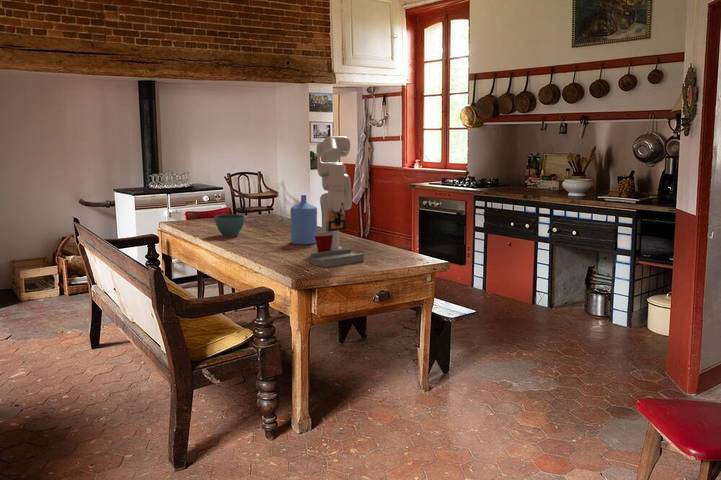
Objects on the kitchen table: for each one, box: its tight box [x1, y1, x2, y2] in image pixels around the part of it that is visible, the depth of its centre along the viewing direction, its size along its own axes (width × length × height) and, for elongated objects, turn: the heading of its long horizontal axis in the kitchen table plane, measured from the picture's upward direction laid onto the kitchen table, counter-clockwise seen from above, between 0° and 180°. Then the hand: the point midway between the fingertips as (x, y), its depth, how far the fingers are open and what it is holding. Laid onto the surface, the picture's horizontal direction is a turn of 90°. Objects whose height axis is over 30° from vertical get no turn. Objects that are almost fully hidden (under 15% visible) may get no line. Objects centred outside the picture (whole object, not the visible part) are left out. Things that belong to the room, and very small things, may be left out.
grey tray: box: [310, 247, 365, 268], centre depth 331 cm, size 12×24×5 cm, turn 128°
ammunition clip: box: [326, 207, 347, 231], centre depth 328 cm, size 11×2×12 cm, turn 128°
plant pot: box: [214, 214, 245, 238], centre depth 411 cm, size 18×18×12 cm
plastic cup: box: [314, 232, 334, 253], centre depth 348 cm, size 11×11×12 cm
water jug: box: [290, 194, 318, 245], centre depth 386 cm, size 16×16×28 cm
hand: (336, 225), depth 328 cm, fingers closed on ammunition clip, 2 cm apart
